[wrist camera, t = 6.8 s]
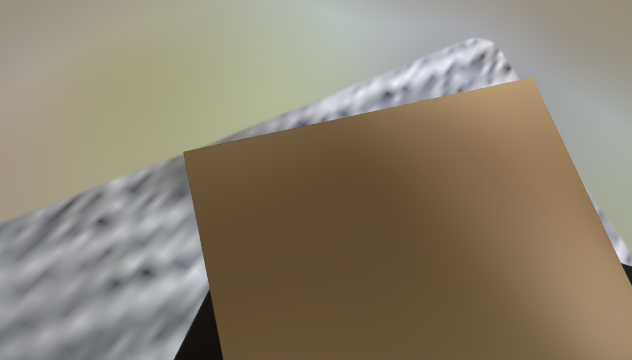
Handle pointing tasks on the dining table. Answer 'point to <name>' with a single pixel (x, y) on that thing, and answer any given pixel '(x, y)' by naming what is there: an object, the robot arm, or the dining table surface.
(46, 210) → the dining table surface
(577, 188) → the birch block
